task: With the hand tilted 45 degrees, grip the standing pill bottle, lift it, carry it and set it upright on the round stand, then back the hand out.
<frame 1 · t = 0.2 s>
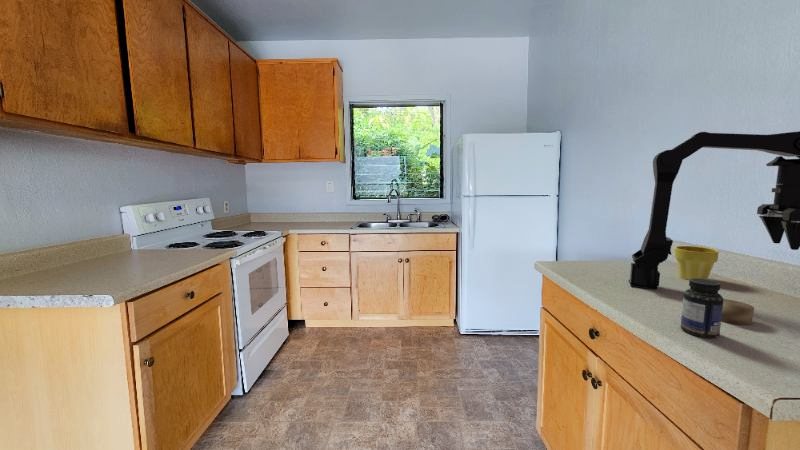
hand: (785, 246, 84), 15 cm above the counter, tool pointing down, fingers open, 9 cm apart
plant pot: (692, 279, 106), on the counter
pill bottle: (699, 333, 69), on the counter
stand: (729, 318, 76), on the counter
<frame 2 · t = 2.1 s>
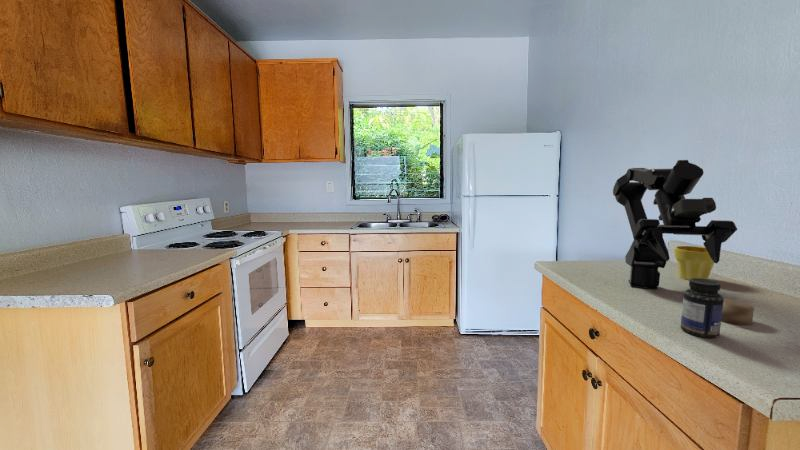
hand: (692, 261, 75), 13 cm above the counter, tool tilted 45°, fingers open, 9 cm apart
nothing on the counter moved.
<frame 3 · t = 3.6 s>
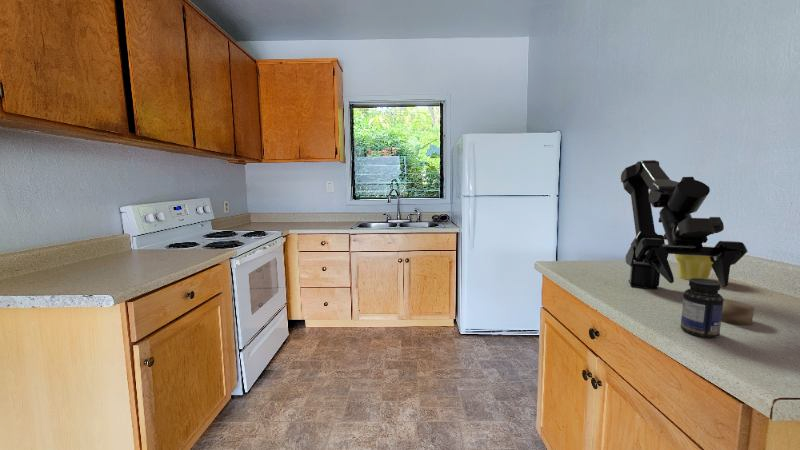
hand: (698, 284, 70), 10 cm above the counter, tool tilted 45°, fingers open, 9 cm apart
nothing on the counter moved.
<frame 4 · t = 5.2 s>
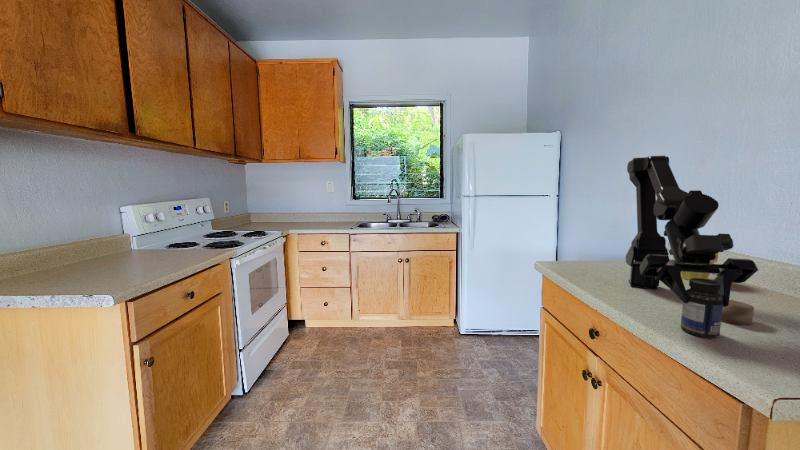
hand: (706, 304, 67), 7 cm above the counter, tool tilted 45°, fingers closed on pill bottle, 6 cm apart
pill bottle: (699, 333, 69), on the counter, touching gripper
everything else where it was.
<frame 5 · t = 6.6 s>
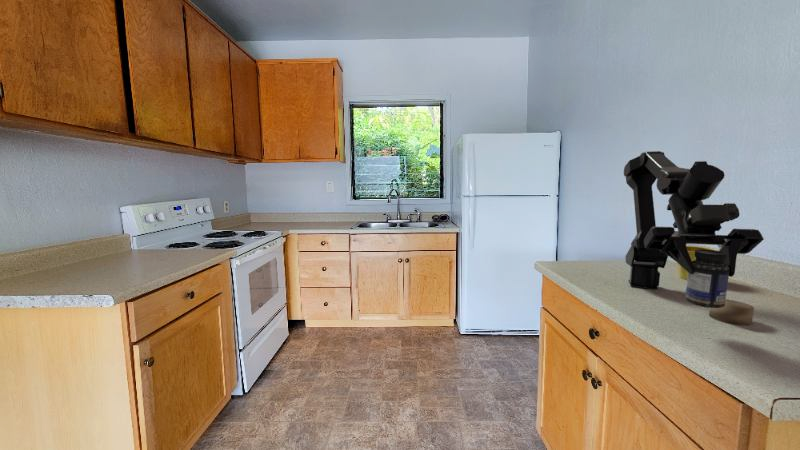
hand: (712, 274, 67), 13 cm above the counter, tool tilted 45°, fingers closed on pill bottle, 6 cm apart
pill bottle: (703, 304, 69), point 6 cm above the counter, touching gripper
everything else where it was.
when the fingers open (11 cm above the counter, at t = 8.4 s): pill bottle drops 1 cm, resting on stand.
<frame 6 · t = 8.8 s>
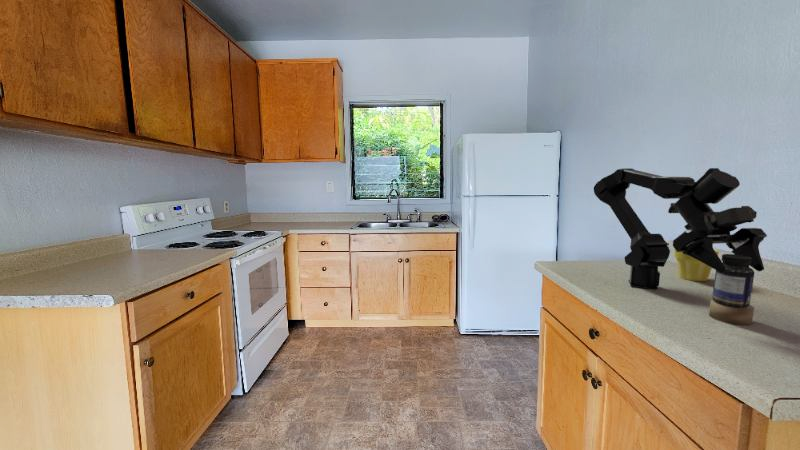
hand: (743, 271, 73), 12 cm above the counter, tool tilted 45°, fingers open, 9 cm apart
pill bottle: (729, 304, 75), point 3 cm above the counter, touching stand
everything else where it was.
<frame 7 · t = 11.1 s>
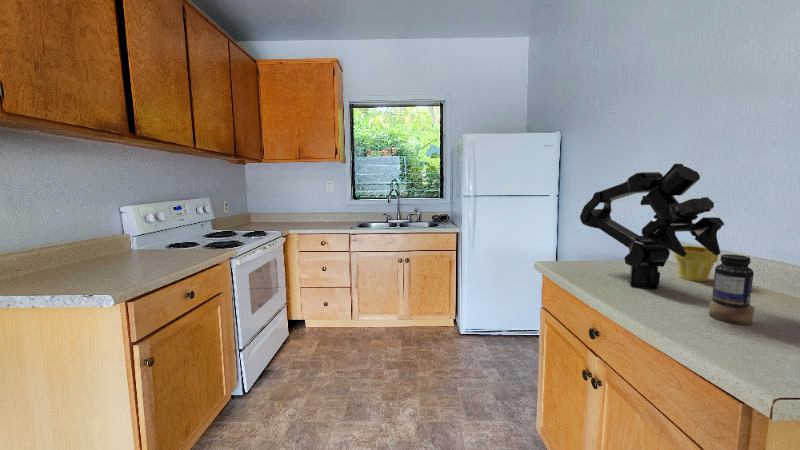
hand: (701, 255, 82), 13 cm above the counter, tool tilted 45°, fingers open, 9 cm apart
nothing on the counter moved.
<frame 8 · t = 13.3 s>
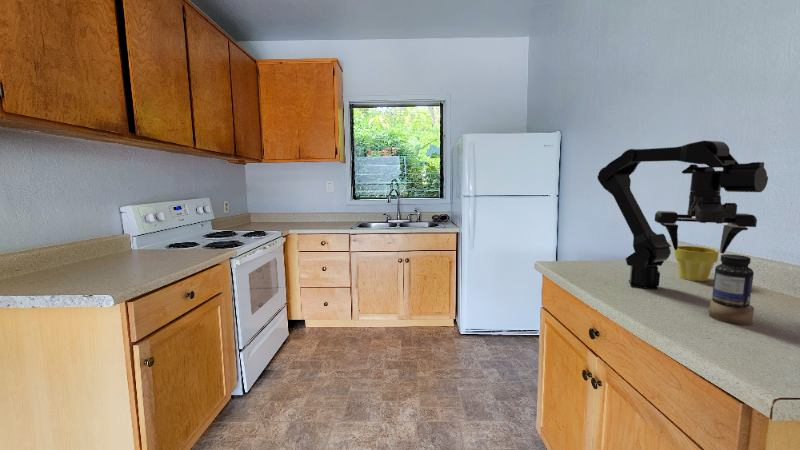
hand: (698, 251, 86), 13 cm above the counter, tool pointing down, fingers open, 9 cm apart
nothing on the counter moved.
at the end: pill bottle 0.3 cm off-centre on the stand, point 3.3 cm above the stand's base; pill bottle tilted 0°; the gripper is holding nothing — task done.
